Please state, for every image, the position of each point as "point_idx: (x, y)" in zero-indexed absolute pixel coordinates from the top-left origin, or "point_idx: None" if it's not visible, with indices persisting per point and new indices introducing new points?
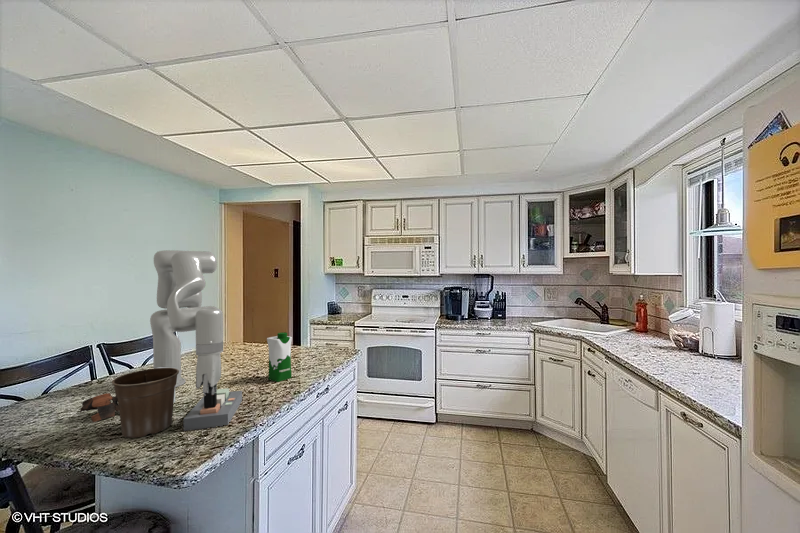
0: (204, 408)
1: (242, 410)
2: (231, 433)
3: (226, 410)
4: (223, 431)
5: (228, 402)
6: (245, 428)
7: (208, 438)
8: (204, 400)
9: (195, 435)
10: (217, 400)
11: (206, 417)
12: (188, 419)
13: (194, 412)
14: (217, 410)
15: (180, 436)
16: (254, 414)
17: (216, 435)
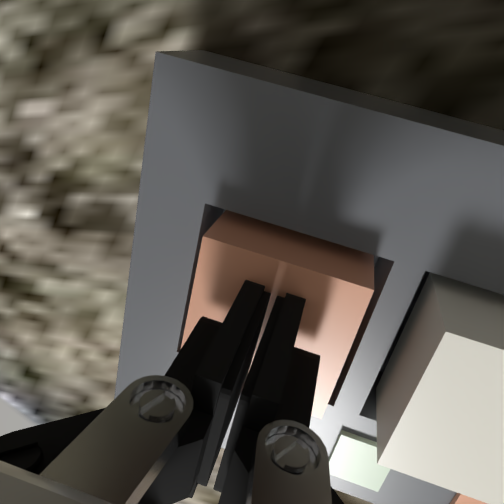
0: (246, 278)
1: None
2: (32, 346)
3: None
4: (75, 314)
5: None
6: (73, 413)
7: (3, 228)
8: (221, 332)
9: (75, 149)
10: (389, 423)
11: (132, 263)
12: (156, 104)
13: (309, 163)
14: None
15: (98, 34)
16: None
17: (31, 273)
